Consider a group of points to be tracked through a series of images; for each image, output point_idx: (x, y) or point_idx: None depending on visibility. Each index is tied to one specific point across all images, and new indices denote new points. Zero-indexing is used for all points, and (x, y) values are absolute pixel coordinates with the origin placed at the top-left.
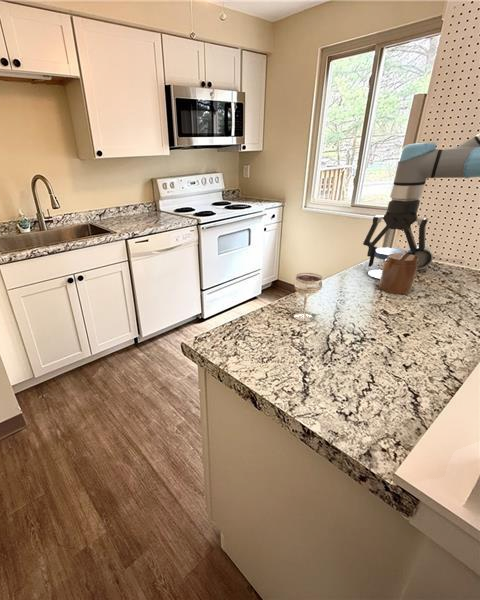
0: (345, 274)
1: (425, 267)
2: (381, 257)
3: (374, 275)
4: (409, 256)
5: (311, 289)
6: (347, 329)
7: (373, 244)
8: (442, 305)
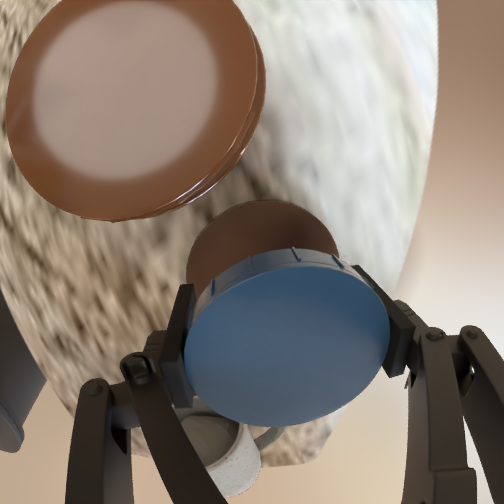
0: (412, 189)
1: None
2: (325, 258)
3: (305, 235)
4: (61, 125)
5: None
6: None
7: (431, 347)
8: None
